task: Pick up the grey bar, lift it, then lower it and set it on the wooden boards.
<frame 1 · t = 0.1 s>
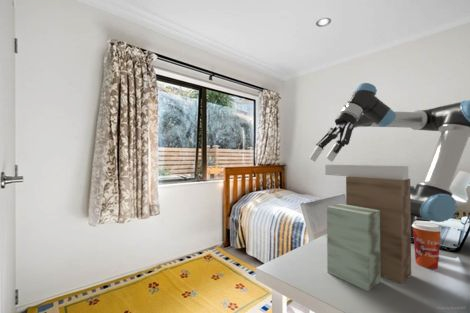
hand: (319, 159, 86), 36 cm above the table, tool tilted 35°, fingers open, 13 cm apart
paper cup: (426, 265, 73), on the table
grey bar: (361, 176, 75), point 30 cm above the table, touching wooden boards
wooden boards: (371, 271, 69), on the table
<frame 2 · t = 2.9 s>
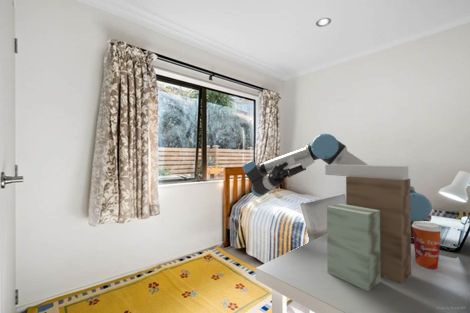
hand: (303, 159, 95), 36 cm above the table, tool pointing upward, fingers open, 13 cm apart
nothing on the table moved.
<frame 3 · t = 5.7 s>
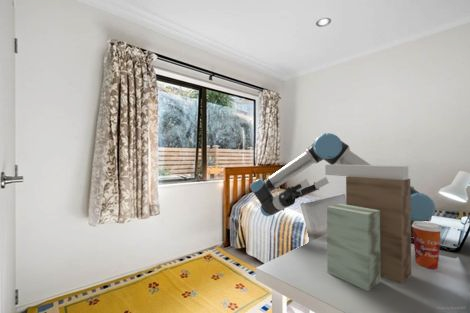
hand: (317, 181, 89), 27 cm above the table, tool pointing upward, fingers open, 13 cm apart
nothing on the table moved.
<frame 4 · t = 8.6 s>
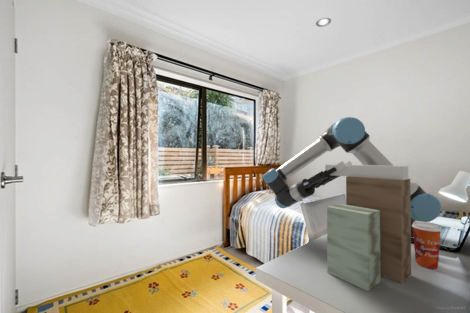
hand: (347, 164, 79), 34 cm above the table, tool pointing upward, fingers closed on grey bar, 4 cm apart
grey bar: (361, 176, 75), point 30 cm above the table, touching gripper, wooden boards
everything else where it was.
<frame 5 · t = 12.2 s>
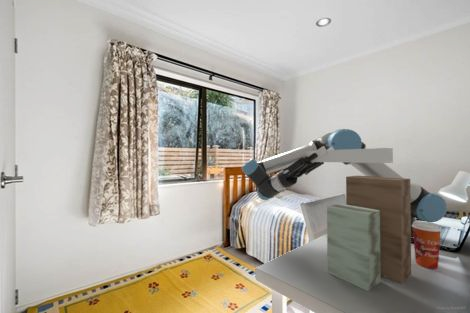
hand: (329, 149, 73), 39 cm above the table, tool pointing upward, fingers closed on grey bar, 4 cm apart
grey bar: (344, 162, 69), point 35 cm above the table, touching gripper
everything else where it was.
when the fingers open (26 cm above the table, at t = 15.7 s): grey bar stays where it is, resting on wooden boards.
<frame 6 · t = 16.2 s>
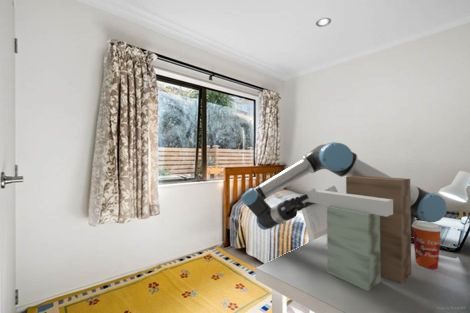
hand: (326, 190, 73), 25 cm above the table, tool pointing upward, fingers open, 11 cm apart
grey bar: (344, 206, 68), point 21 cm above the table, touching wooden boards
everything else where it was.
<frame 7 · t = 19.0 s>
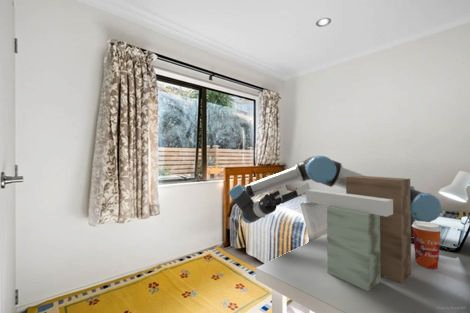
hand: (298, 187, 83), 25 cm above the table, tool pointing upward, fingers open, 13 cm apart
nothing on the table moved.
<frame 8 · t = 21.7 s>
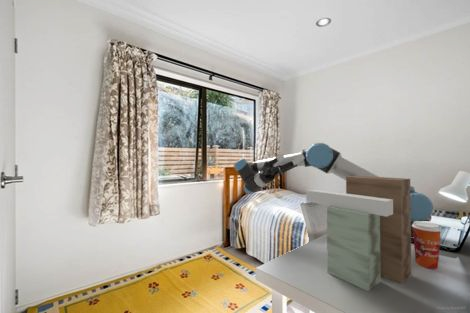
hand: (293, 155, 95), 38 cm above the table, tool pointing upward, fingers open, 13 cm apart
nothing on the table moved.
at the end: grey bar inside the target area (0.1 cm from its centre), point 21.0 cm above the table; grey bar tilted 0°; the gripper is holding nothing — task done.
